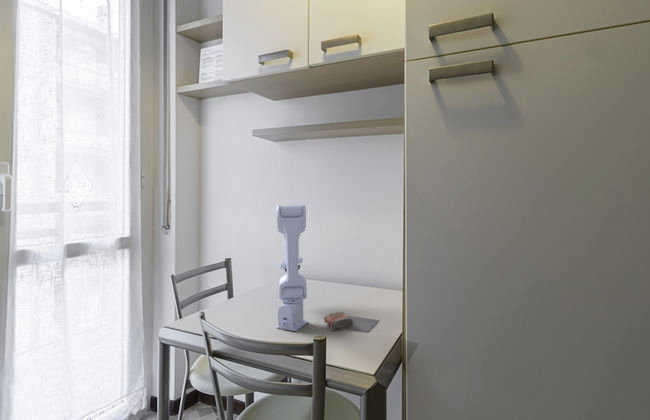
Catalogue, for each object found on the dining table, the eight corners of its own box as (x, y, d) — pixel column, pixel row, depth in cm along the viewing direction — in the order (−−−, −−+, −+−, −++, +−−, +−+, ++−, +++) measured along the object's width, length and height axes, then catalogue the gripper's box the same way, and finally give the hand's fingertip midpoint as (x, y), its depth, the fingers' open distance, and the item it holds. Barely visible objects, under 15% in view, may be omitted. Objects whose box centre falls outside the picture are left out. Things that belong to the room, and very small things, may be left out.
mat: (368, 332, 125) (368, 331, 125) (330, 326, 131) (330, 325, 131) (378, 320, 136) (378, 320, 136) (343, 315, 142) (343, 314, 142)
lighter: (331, 322, 126) (321, 312, 136) (332, 331, 126) (321, 321, 136) (352, 317, 129) (341, 308, 138) (353, 326, 129) (341, 317, 139)
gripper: (291, 253, 142) (292, 288, 143) (308, 247, 155) (309, 279, 156) (275, 252, 145) (276, 286, 146) (293, 246, 158) (294, 278, 159)
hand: (292, 282), depth 151 cm, fingers closed
